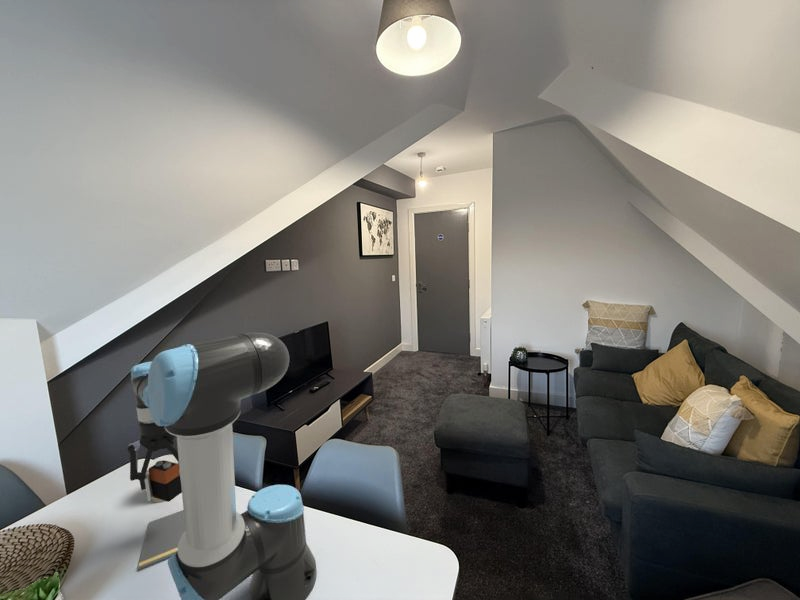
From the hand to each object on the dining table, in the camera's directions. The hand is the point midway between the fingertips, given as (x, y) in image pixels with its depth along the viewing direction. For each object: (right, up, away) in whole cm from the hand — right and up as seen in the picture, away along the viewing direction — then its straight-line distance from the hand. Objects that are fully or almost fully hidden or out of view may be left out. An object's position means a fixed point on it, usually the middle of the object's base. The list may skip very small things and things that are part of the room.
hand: (167, 492), depth 93 cm
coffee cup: (-14, -12, +19) cm, 26 cm away
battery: (0, -1, 0) cm, 1 cm away
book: (+1, -13, +2) cm, 13 cm away
